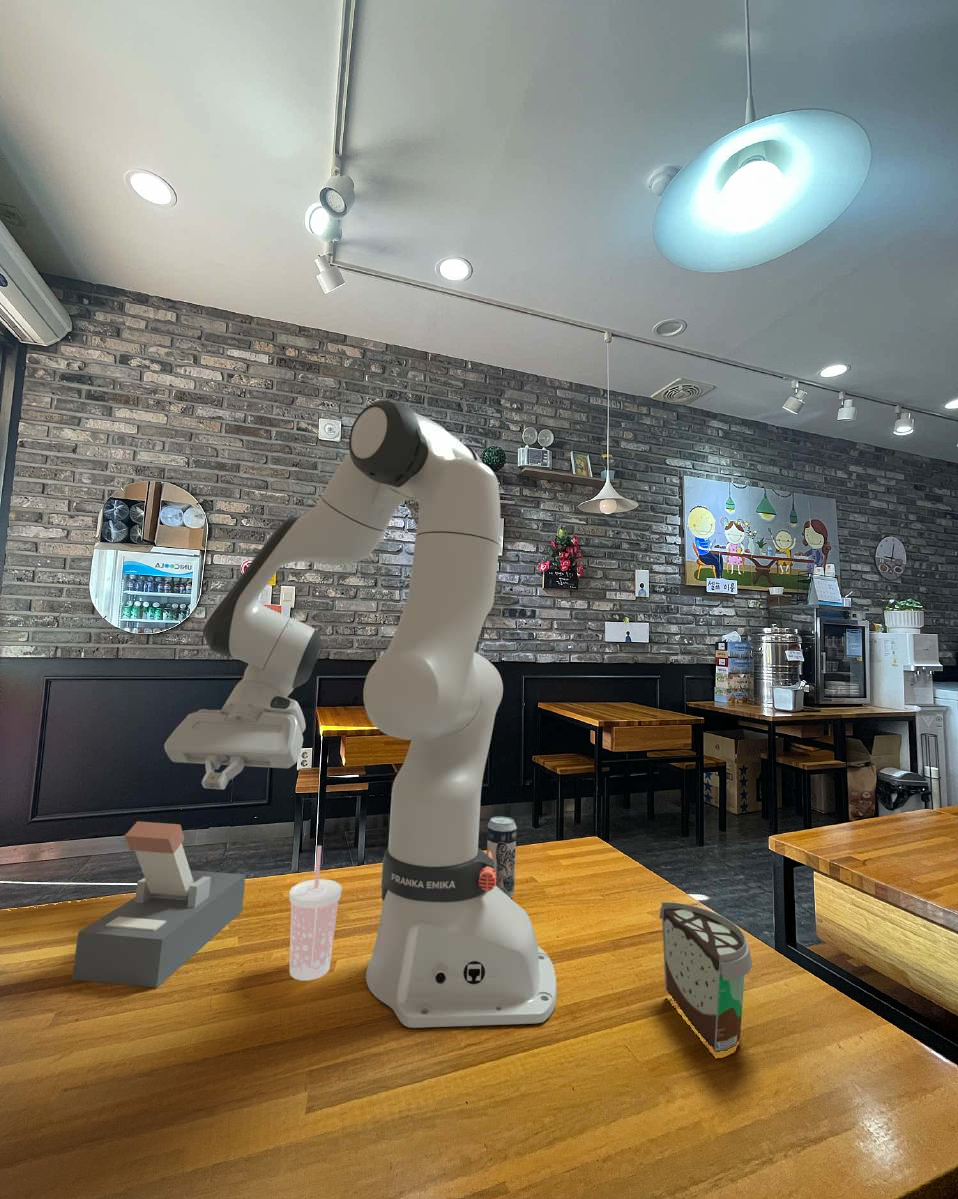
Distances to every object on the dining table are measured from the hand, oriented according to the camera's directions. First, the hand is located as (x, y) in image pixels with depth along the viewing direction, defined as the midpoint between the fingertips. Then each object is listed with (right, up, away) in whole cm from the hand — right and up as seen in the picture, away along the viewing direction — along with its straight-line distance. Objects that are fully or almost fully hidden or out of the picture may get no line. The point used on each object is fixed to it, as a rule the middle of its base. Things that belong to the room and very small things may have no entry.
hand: (212, 786), depth 75 cm
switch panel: (-1, -17, -9) cm, 19 cm away
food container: (+64, -19, -20) cm, 70 cm away
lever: (-1, -11, -8) cm, 13 cm away
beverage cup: (+18, -17, -13) cm, 28 cm away
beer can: (+42, -21, +8) cm, 48 cm away
